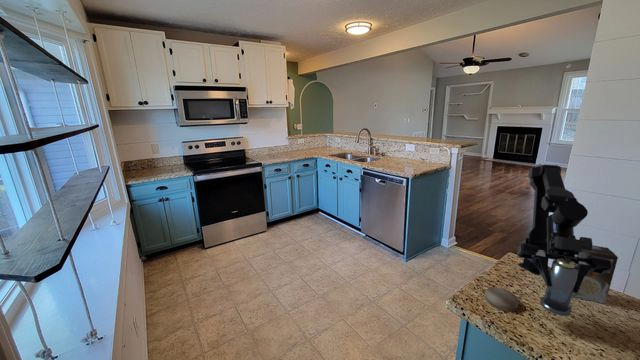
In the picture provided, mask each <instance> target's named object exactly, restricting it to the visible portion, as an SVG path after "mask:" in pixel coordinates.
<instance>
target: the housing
mask: <svg viewBox="0 0 640 360" xmlns="http://www.w3.org/2000/svg"><path fill="white" fill-rule="evenodd" d="M578 273H579V268H578V267H577V266H576V264H575V263H574V262H573V261H571V260H568V259H563V258H559V259H557V260H552V263H551V267H550V270H549V277H550V286H549V287H548V286H546V288H545V292H544V296H542V297H541V298H540V301H539V302H540V303H539V304H540V305H541V306H542V307H543V308H544V309H545V310H547V311H548V312H550V313H552V314H554V315H556V316H557V315H558V316H561V317H562V316H563V317H569V316H570V315H571V314H572V312H573V311H572V310H573V309H572V308H571V303H572V302H571V301H572V298H573V297H572V295H573V291H574V288H575V284H576V280H577V277H578Z"/></svg>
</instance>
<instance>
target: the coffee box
mask: <svg viewBox="0 0 640 360" xmlns="http://www.w3.org/2000/svg"><path fill="white" fill-rule="evenodd" d="M590 255H592V256H598V257H603V258H608V259H609V260H610V261H611V262H612V263H613V270H611V271H609V272H607V273H605V274H599V273H594V272H590V273H589V274H586V275H585V277H584V279H583V281H582V283H581V286H580V288H579V290H578V292H577V293H574V291H573V295H572V298H577V299H582V300H587V301H591V302H595V303H600V304H606V302H607V299H608V295H609V291H610V288H611V284H612V281H613V278H614V277H613V276H614V274H615V269H616V266H617V263H618V259H619V257H618V256H617V255H616V254H615V252H613V251H612V250H611V249H610V248H609V247H607V246H606V247H604V246H599V245H593V244H592V250H591V251H589V250H583V249H582V253H580V252H579V254H578V255H575V257H580V258H585V259H586V258H587V257H589V256H590Z"/></svg>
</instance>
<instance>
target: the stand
mask: <svg viewBox="0 0 640 360" xmlns="http://www.w3.org/2000/svg"><path fill="white" fill-rule="evenodd" d="M484 298H485V300H486V302H487V303H488V304H489V305H490V306H492V307H494V308H496V309H498V310H500V311H505V312H514V311H516V310H518V308H519V298H518V296H517V295H515V294H514V293H513V292H511V291H510V290H508V289H506V288H501V287H499V286H497V287H496V286H492V287H491V286H490V287H488V288H487V289H486V291H485V296H484Z"/></svg>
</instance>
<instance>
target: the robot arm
mask: <svg viewBox="0 0 640 360" xmlns="http://www.w3.org/2000/svg"><path fill="white" fill-rule="evenodd" d="M528 179H529V185H530V186H531V187H532V189H533V190H534V200H533V212H532V227H531V229H530V230H529V231H528V232H527V233H526V235H525V237H524V239H523V240H522V241H521V242H520V243H521V244H519V246H518V248H517V251H516V252H517V253H516V254H517V257H518V258H521V259H522V260H523V261H522V262H520V263H518V266H519V267H521V268H522V269H524V270H526V271H529V272H530V273H532V274H534V275H538V274H540V275H541V276H542V279H543V282H544V283H545V286H546V287H547V286H548V287H549V286H550V277H549V275H550V270H549V260H552V261H554V260H557V259H559V258H563V259H568V260H571V261H573V262H574V263H575V264H576V266H577V267H578V268H579V273H578V277H577V280H576V284H575V288H574V293H577V292H578V290H579V288H580V286H581V283H582V281H583V279H584V277H585V275H586V274H589V273H590V272H594V273H599V274H605V273H607V272H609V271H611V270H613V263H612V262H611V261H610V260H609V259H608V258H603V257H598V256H592V255H590V256H589V257H587V258H586V259H585V258H580V257H575V255H578V254H579V252H580V253H582V249H583V250H589V251H591V250H592V245H593V239H592V238H591V237H586V236H585V237H584V236H580V237H579V239H577V238H576V235H575V234H574V233H575V232H574V231H575V230H574V228H576V227H577V226H578V225H579V224H580V223H581V222H582V221H583V220H584V219H585V218H586V217H587V216H588V213H589V212H588V209H587V208H586V207H585V205H583V204H582V203H581V202H579V201H578V199H577V197H575V195H574V193H573V192H571V191H570V190H568V189H566V188H565V183H564V181H563V176H562V167H561V166H559V165H557V164H541V165H539V166H533V167H531V168H530V169H529V171H528ZM550 213H552V214H550Z"/></svg>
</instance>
